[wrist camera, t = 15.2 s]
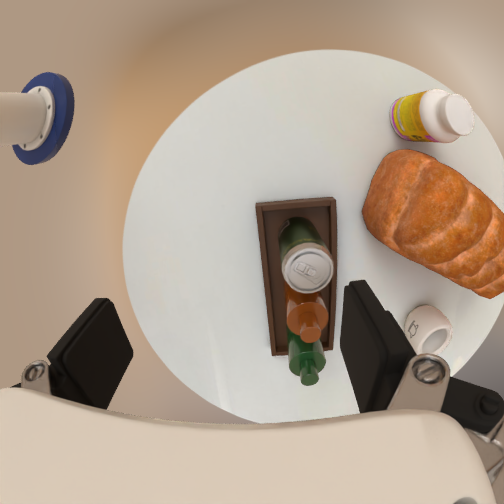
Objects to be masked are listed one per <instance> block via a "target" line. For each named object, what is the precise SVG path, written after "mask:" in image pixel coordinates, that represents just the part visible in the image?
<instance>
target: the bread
mask: <svg viewBox="0 0 504 504" xmlns="http://www.w3.org/2000/svg"><path fill="white" fill-rule="evenodd" d="M362 214H363V218H364V221H365V224H366V227H367V229H368V230H369V232H370V233H371V234H372V235H373V236H374V237H375V238H376V239H378V240H379V241H380V242H382V243H383V244H385V245H386V246H388V247H389V248H390V249H392V250H393V251H395V252H397V253H399V254H400V255H402V256H404V257H406V258H407V259H409V260H412V261H414V262H416V263H419V264H421V265H423V266H425V267H426V268H428V269H430V270H432V271H434V272H437V273H438V274H440V275H442V276H444V277H446V278H448V279H450V280H451V281H453V282H455V283H457V284H459V285H460V286H462V287H465V288H467V289H471V290H472V291H474V292H475V293H476V294H478V295H479V296H482V297H485V298H488V299H492V298H493V297H495V296H497V295H499V294H501V293H502V292H504V213H503V212H502V211H501V210H500V209H499V208H498V207H497V206H496V205H495V203H494V202H493V201H492V200H491V199H490V198H488V197H487V196H486V195H485V194H484V193H483V192H482V191H481V190H480V189H479V188H477V187H476V186H475V185H473V184H472V183H470V182H469V181H468V180H467V179H466V178H465V177H464V176H463V175H462V174H460V173H459V172H457V171H456V170H454V169H453V168H451V167H449V166H447V165H445V164H442V163H440V162H438V161H437V160H436V159H435V158H434V157H432V156H429V155H427V154H424V153H422V152H419V151H415V150H410V149H402V150H396V151H394V152H392V153H389V154H388V155H387V156H386V157H384V158H383V160H382V162H381V164H380V165H379V167H378V169H377V171H376V173H375V175H374V177H373V179H372V181H371V185H370V189H369V192H368V195H367V198H366V201H365V204H364V206H363V209H362Z"/></svg>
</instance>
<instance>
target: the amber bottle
mask: <svg viewBox="0 0 504 504" xmlns="http://www.w3.org/2000/svg"><path fill="white" fill-rule="evenodd" d="M283 290H284V300H285V310H286V320H287V326H288V328H289V329H290V330H291V331H292V332H293V333H295V334H297V335H300V337H301V339H302V340H303V341H304V342H306V343H313V342H315V341H317V340H318V339H319V338H320V337H321V330H322V329H323V328H324V327H325V326H326V324H327V322H328V312H327V309H326V306H325V303H324V300H323V297H322V294H321V291H317V292H314V293H301V292H297V291H296V290H294V289H292V288H291V287H290V286H289V284H288V283H287V281H286V280H284V283H283Z"/></svg>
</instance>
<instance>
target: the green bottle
mask: <svg viewBox="0 0 504 504" xmlns="http://www.w3.org/2000/svg"><path fill="white" fill-rule="evenodd" d="M286 335H287V347H288V359H289V368H290V371H291V372H292V373H293V374H295V375H297V376H300V378H301V383H302V384H303V385H306V386H310V385H314V384H316V383H317V382H318V380H319V377H318V373H319V372H320V371H321V370H322V369H323V368H324V366H325V364H326V360H325V355H324V351H323V347H322V342H321V338H319V339H318V340H317V341H315V342H313V343H306V342H304V341H303V340H302V339H301V337H300V335H297V334H295V333H293V332H292V331H291V330H290V329H289V328H288V326H287V325H286Z"/></svg>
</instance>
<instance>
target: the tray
mask: <svg viewBox="0 0 504 504" xmlns="http://www.w3.org/2000/svg"><path fill="white" fill-rule="evenodd" d="M256 216H257V224H258V233H259V242H260V251H261V260H262V269H263V278H264V287H265V296H266V305H267V314H268V324H269V333H270V343H271V352H272V356H276V355H277V356H279V355H288V347H287V335H286V325H287V320H286V310H285V300H284V290H283V283H284V280H285V279H284V276H283V274H282V268H281V259H280V251H279V242H278V232H279V229H280V227H281V225H282V224H283V222H285V221H286V220H288V219H289V218H292V217H303V218H307V219H308V220H309V221H311V222H312V223H313V225H314V226H315V228H316V229H317V231H318V233H319V234H320V236H321V238H322V240H323V241H324V243H325V245H326V247H327V248H328V250H329V252H330V254H331V256H332V259H333V267H334V268H333V276H332V278H331V280H330V282H329V283H328V284H327V285H326V287H324V288H323V289H321V290H320V291H321V294H322V297H323V300H324V303H325V306H326V309H327V312H328V322H327V324H326V326H325V327H324V328H323V329H322V330H321V337H320V338H321V342H322V347H323V351H328V350H333V342H334V328H335V311H336V287H337V212H336V199H334V198H333V197H323V198H309V199H296V200H285V201H273V202H263V203H256Z"/></svg>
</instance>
